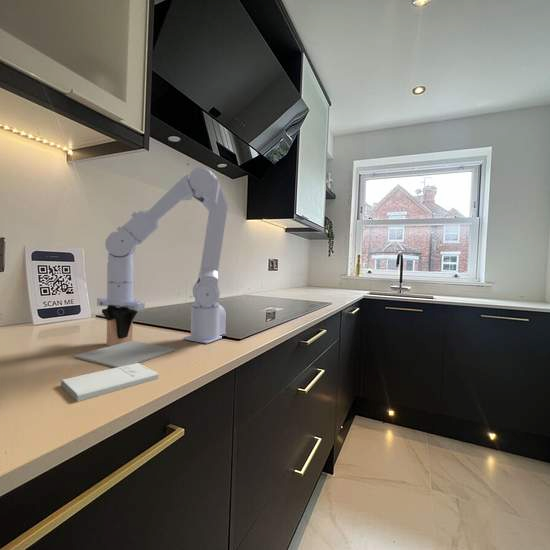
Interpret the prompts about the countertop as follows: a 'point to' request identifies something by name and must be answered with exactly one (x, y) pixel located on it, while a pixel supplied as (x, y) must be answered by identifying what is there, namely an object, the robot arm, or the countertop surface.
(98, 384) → the external hard drive
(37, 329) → the countertop surface
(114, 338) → the tile
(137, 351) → the mat
